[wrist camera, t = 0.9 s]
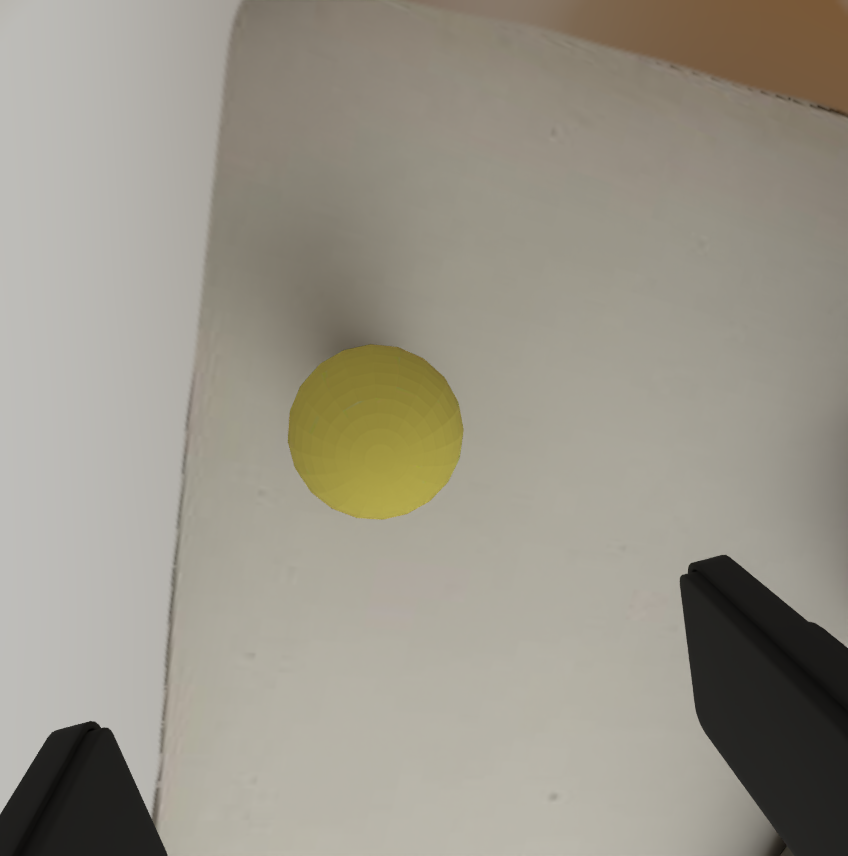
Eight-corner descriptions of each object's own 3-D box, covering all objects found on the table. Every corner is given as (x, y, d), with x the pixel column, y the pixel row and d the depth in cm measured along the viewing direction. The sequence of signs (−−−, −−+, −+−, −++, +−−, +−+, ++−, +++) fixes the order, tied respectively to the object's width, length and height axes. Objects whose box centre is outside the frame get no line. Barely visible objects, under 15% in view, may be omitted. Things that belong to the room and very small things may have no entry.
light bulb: (348, 296, 30) (348, 320, 20) (466, 373, 32) (516, 428, 22) (274, 415, 31) (240, 490, 21) (391, 483, 33) (408, 582, 23)
